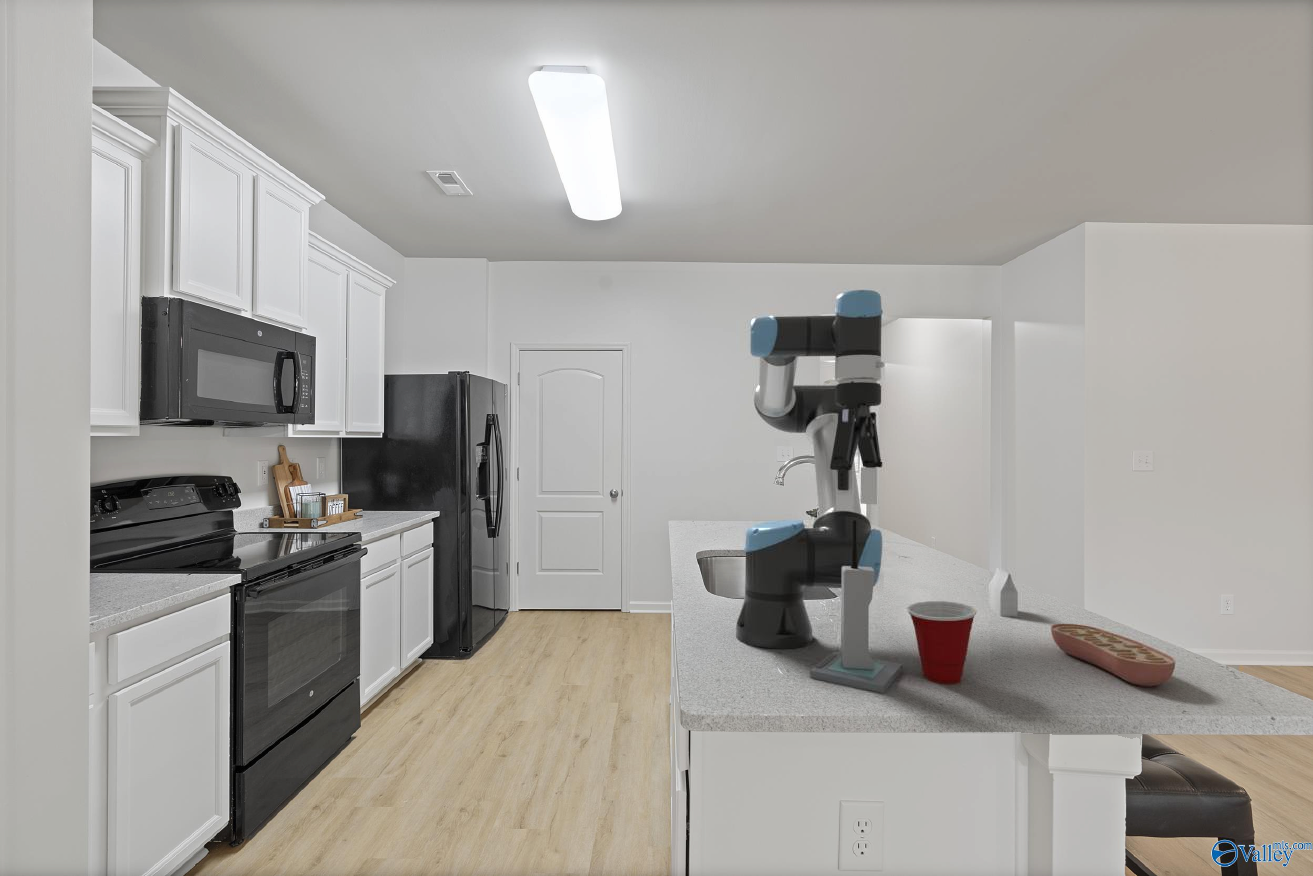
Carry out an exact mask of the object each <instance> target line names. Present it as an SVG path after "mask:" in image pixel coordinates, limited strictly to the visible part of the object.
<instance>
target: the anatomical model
mask: <svg viewBox="0 0 1313 876" xmlns="http://www.w3.org/2000/svg"><path fill="white" fill-rule="evenodd" d="M1050 631H1051V636H1052V638H1053V641H1054V642H1055V645H1057V647H1058V648H1059V649H1061V650H1062V652H1064V653H1065V654H1067V655H1070V656H1072V657H1074V658H1077V659H1080V660H1082V661H1084V662H1087V663H1090V664H1091V665H1095V666H1096V667H1099V668H1101V669H1102V670H1106V671H1108V672H1109V673H1111V674H1113V675H1115V676H1117V677H1118V678H1121V679H1122V680H1124V681H1126V682H1128V683H1130V684H1132V685H1135V686H1141V687H1145V688H1146V687H1147V688H1149V687H1155V686H1159V685H1162V684H1164V683H1165V682H1167V681H1168V680H1169V679H1170V678H1171V677H1172V675H1173V673H1174V671H1175V667H1176V659H1175V658H1174V657H1172V656H1171V655H1169V654H1167V653H1165V652H1163V651H1161V650H1158V649H1156V648H1154V647H1152V646H1149V645H1147V644H1144V643H1142V642H1139V641H1137V640H1134V639H1131V638H1128V637H1126V636H1123V635H1120V634H1117V633H1115V632H1114V633H1113V632H1110V631H1107V630H1104V629H1101V628H1097V627H1093V626H1089V625H1083V624H1076V623H1056V624H1052V625H1051V626H1050Z"/></svg>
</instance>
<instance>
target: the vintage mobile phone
mask: <svg viewBox="0 0 1313 876" xmlns="http://www.w3.org/2000/svg"><path fill="white" fill-rule="evenodd" d="M874 574H875V571H874V570H873V568H872V567H860V566H857V546H856V520H853V546H852V565H851V566H843V567H842V581H841V588H840V589H841V593H840V594H841V595H840V597H841V604H840V605H841V606H840V607H841V609H840V613H841V614H840V616H841V617H840V618H841V619H840V621H841V622H840V623H841V624H840V626H841V629H840V631H841V635H840V636H841V637H840V641H841V643H840V653H841V661H842V664H843V667H844V668H845V669H858V670H874V662H873V660H872V659H873V658H872V656H871V654H870V652H869V627H870V626H869V619H870V617H869V616H870V614H869V611H870V610H869V607H870V604H871V602H872V600H873V594H874V587H873V585H874Z"/></svg>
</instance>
